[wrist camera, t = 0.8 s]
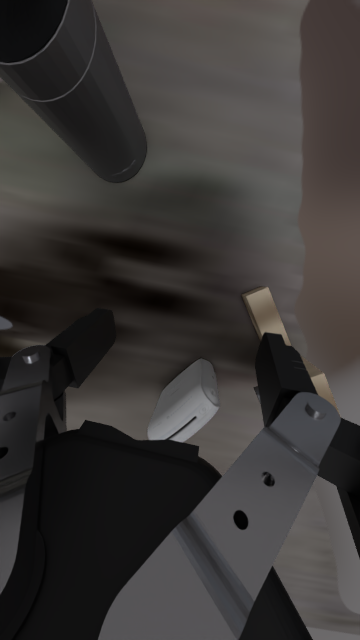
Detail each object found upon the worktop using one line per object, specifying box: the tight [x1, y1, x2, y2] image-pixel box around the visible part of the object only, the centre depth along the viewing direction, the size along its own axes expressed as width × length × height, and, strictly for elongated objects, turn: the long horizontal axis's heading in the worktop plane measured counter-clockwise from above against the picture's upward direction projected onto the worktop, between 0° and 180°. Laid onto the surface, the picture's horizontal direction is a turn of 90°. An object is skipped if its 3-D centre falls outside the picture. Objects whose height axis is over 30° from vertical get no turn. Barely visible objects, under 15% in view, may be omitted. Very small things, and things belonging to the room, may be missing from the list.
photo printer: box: [147, 358, 220, 442], centre depth 29 cm, size 10×4×12 cm, turn 134°
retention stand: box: [241, 287, 340, 415], centre depth 26 cm, size 20×7×14 cm, turn 24°
